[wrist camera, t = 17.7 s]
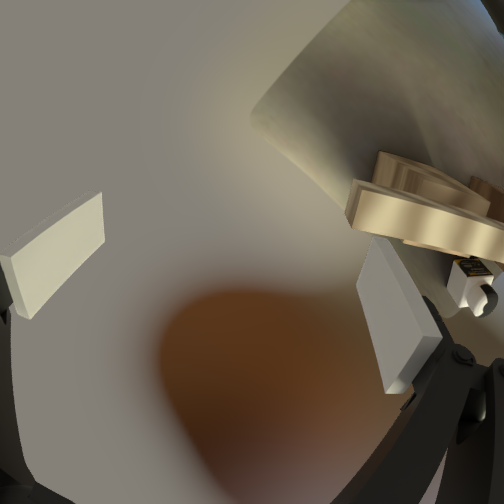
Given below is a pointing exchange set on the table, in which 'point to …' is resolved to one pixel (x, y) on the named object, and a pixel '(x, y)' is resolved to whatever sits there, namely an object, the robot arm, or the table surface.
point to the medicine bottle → (472, 286)
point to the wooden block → (423, 221)
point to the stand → (500, 201)
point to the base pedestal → (426, 187)
